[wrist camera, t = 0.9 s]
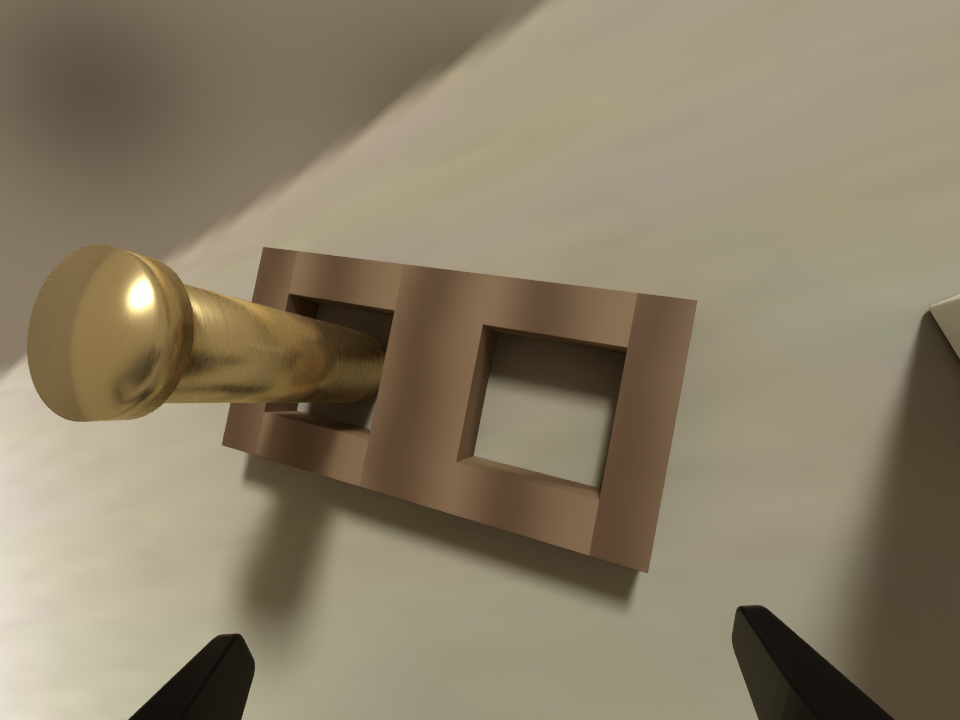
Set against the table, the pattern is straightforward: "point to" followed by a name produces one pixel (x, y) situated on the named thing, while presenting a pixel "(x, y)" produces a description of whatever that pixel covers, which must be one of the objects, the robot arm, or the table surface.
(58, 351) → the brass bolt
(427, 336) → the template plate
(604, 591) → the table surface
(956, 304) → the milk carton
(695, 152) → the table surface
